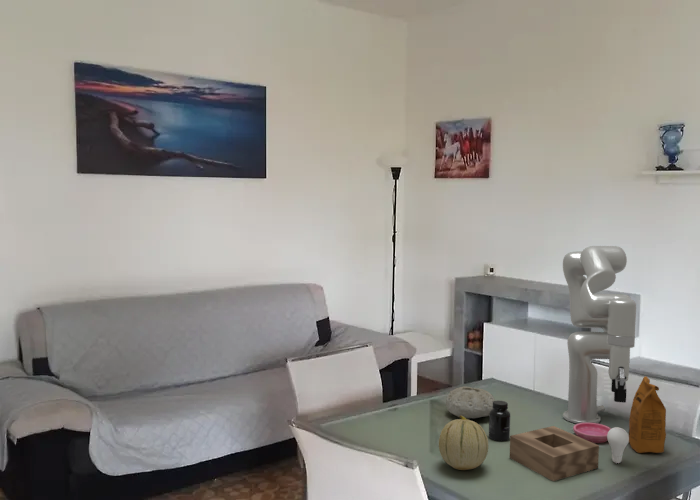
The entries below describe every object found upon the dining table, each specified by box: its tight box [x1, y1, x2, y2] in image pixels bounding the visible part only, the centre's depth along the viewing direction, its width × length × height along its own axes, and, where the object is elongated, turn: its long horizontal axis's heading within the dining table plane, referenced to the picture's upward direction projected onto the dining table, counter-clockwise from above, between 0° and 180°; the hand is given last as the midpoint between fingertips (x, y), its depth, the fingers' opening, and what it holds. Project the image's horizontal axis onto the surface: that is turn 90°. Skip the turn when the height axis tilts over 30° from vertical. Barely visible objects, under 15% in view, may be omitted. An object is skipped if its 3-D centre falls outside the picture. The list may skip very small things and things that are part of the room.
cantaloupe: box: [438, 415, 489, 471], centre depth 194 cm, size 15×15×15 cm
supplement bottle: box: [488, 400, 511, 442], centre depth 217 cm, size 7×7×12 cm
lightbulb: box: [607, 426, 629, 464], centre depth 197 cm, size 6×6×11 cm
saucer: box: [572, 423, 612, 444], centre depth 218 cm, size 12×12×3 cm
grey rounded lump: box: [445, 385, 496, 420], centre depth 238 cm, size 18×18×10 cm
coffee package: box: [628, 376, 667, 454], centre depth 209 cm, size 10×12×22 cm
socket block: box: [509, 425, 600, 482], centre depth 197 cm, size 18×18×7 cm
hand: (618, 396), depth 196 cm, fingers open, 9 cm apart
